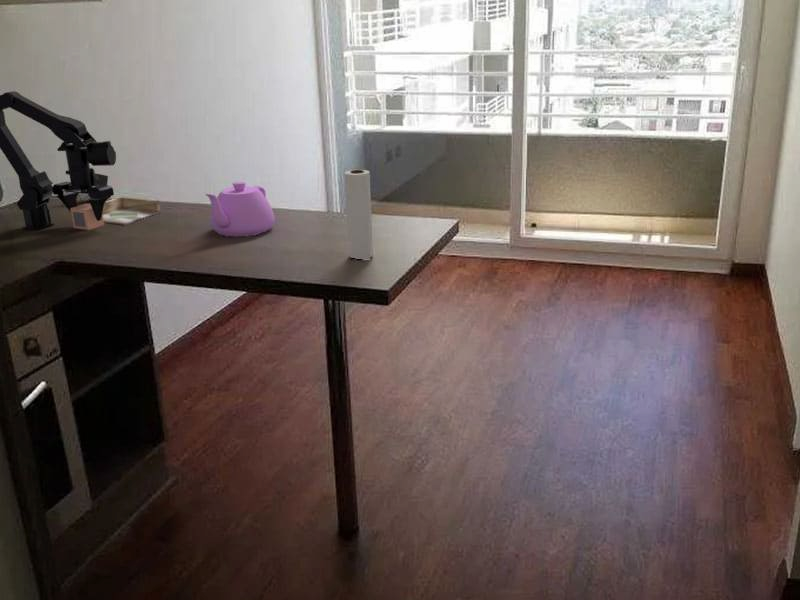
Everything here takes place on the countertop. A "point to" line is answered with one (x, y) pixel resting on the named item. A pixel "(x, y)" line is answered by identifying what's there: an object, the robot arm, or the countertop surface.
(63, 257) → the countertop surface
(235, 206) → the teapot
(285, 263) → the countertop surface
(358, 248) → the paper towel roll
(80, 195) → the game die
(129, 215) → the tray
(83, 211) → the cube
